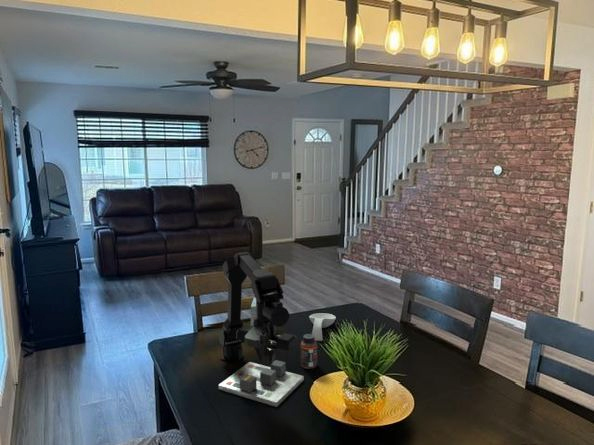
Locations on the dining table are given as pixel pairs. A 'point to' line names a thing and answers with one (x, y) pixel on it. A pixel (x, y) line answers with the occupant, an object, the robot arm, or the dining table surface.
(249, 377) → the grey cube
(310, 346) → the supplement bottle
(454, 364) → the dining table surface
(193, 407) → the dining table surface
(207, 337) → the dining table surface
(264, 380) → the block
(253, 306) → the snack box
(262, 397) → the panel
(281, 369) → the block
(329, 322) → the spoon rest
